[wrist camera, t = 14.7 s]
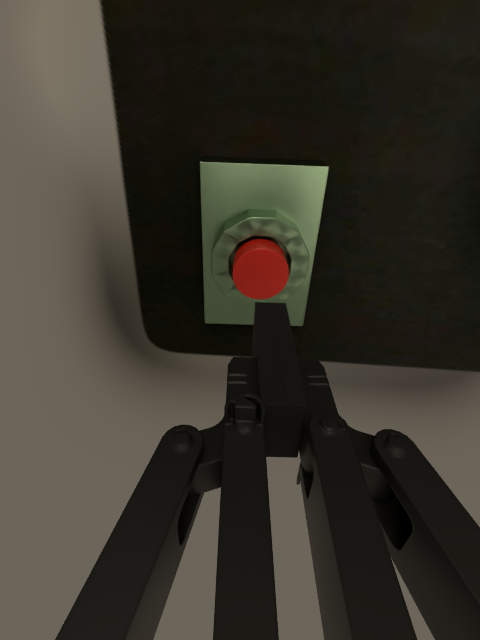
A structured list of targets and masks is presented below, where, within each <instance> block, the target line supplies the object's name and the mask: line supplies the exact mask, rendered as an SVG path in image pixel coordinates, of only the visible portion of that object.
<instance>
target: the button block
mask: <svg viewBox="0 0 480 640" xmlns="http://www.w3.org/2000/svg"><path fill="white" fill-rule="evenodd" d="M328 171H329V166H328V165H326V164H325V163H324V162H323V161H310V160H283V159H255V158H227V157H203V158H202V160H201V161H200V185H201V217H202V249H203V281H204V313H205V323H214V324H250V325H254V312H255V302H269V303H286V306H287V311H288V315H289V320H290V325H291V326H303V322H304V316H305V310H306V304H307V298H308V292H309V286H310V280H311V274H312V268H313V262H314V256H315V250H316V244H317V237H318V231H319V225H320V219H321V213H322V207H323V201H324V195H325V189H326V183H327V177H328ZM254 239H266V240H270V241H272V242H274V243H276V244H277V245H278V246H279V247H280V248H281V249H282V250H283V252H284V254H285V257H286V260H287V264H288V268H289V278H288V281H287V284H286V285H285V287H284V288H283V289H282V291H280V292H279V293H278V294H277V295H275V296H273V297H271V298H267V299H252V298H249V297H247V296H245V295H244V294H242V293H241V292H240V291H239V290H238V289H237V287H236V286H235V284H234V281H233V260H234V256H235V254H236V252H237V251H238V249H239V248H240V247H241V246H242V245H243V244H245V243H246V242H248V241H251V240H254Z"/></svg>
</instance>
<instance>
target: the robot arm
mask: <svg viewBox="0 0 480 640" xmlns="http://www.w3.org/2000/svg"><path fill="white" fill-rule="evenodd" d="M252 354H253V358H245V357H233V359H232V360H231V362H230V363H229V364H228V376H227V394H226V404H225V415H224V417H223V419H222V420H221V421H220V422H219V423H218V424H217V425H215V426H213V427H211V428H208V429H204V430H200V431H199V430H197V428H195V427H193V426H190V425H179V426H175V427H173V428H171V429H170V430H168V431H167V432H166V433H165V435H164V436H163V437H162V439H161V441H160V443H159V445H158V447H157V448H156V450H155V452H154V454H153V456H152V458H151V460H150V462H149V464H148V466H147V467H146V469H145V471H144V473H143V475H142V477H141V479H140V481H139V482H138V484H137V486H136V488H135V490H134V492H133V494H132V496H131V498H130V499H129V501H128V503H127V505H126V507H125V509H124V511H123V513H122V515H121V516H120V519H119V520H118V522H117V524H116V526H115V528H114V530H113V532H112V533H111V536H110V537H109V539H108V541H107V543H106V545H105V547H104V548H103V550H102V552H101V554H100V556H99V558H98V560H97V562H96V564H95V565H94V567H93V569H92V571H91V573H90V575H89V577H88V579H87V581H86V583H85V585H84V586H83V588H82V590H81V592H80V594H79V596H78V598H77V599H76V601H75V603H74V606H73V607H72V609H71V611H70V613H69V615H68V616H67V619H66V620H65V622H64V624H63V626H62V628H61V630H60V632H59V634H58V636H57V637H56V639H55V640H153V639H154V636H155V633H156V630H157V627H158V624H159V621H160V618H161V615H162V613H163V609H164V607H165V604H166V601H167V598H168V595H169V592H170V589H171V587H172V584H173V581H174V578H175V575H176V572H177V569H178V566H179V564H180V561H181V558H182V555H183V551H184V549H185V546H186V543H187V541H188V538H189V535H190V532H191V529H192V526H193V523H194V520H195V517H196V514H197V511H198V509H199V506H200V503H201V500H202V497H203V494H204V492H207V491H210V490H213V489H217V488H220V487H221V499H220V518H219V536H218V556H217V557H218V558H217V575H216V594H215V614H214V632H213V633H214V634H213V640H279V637H278V623H277V610H276V609H277V608H276V595H275V579H274V565H273V551H272V537H271V522H270V508H269V493H268V479H267V464H266V457H297V456H298V452H300V458H301V463H300V467H299V472H298V476H297V484H300V481H301V487H302V493H303V500H304V507H305V513H306V520H307V527H308V533H309V539H310V546H311V553H312V559H313V567H314V573H315V580H316V586H317V593H318V599H319V606H320V613H321V620H322V626H323V633H324V640H417V637H416V634H415V631H414V628H413V626H412V622H411V619H410V616H409V612H408V610H407V606H406V603H405V600H404V597H403V594H402V591H401V588H400V585H399V582H398V578H397V576H396V572H395V569H394V566H393V563H392V560H393V562H394V564H395V565H396V567H397V569H398V571H399V573H400V575H401V577H402V579H403V581H404V582H405V584H406V586H407V588H408V590H409V592H410V594H411V595H412V597H413V599H414V601H415V603H416V605H417V607H418V609H419V611H420V612H421V614H422V616H423V618H424V620H425V622H426V624H427V626H428V627H429V629H430V631H431V633H432V635H433V637H434V639H435V640H480V527H479V526H478V525H477V523H476V522H475V521H474V520H473V518H472V517H471V516H470V515H469V513H468V512H467V511H466V509H465V508H464V507H463V506H462V504H461V503H460V502H459V500H458V499H457V498H456V497H455V495H454V494H453V493H452V491H451V490H450V489H449V487H448V486H447V485H446V484H445V482H444V481H443V480H442V478H441V477H440V476H439V475H438V473H437V472H436V471H435V469H434V468H433V467H432V466H431V464H430V463H429V462H428V461H427V459H426V458H425V457H424V455H423V454H422V453H421V452H420V450H419V449H418V448H417V446H416V445H415V444H414V442H413V441H412V440H411V439H409V438H408V437H407V436H406V435H404V434H402V433H401V432H399V431H395V430H392V429H384V430H381V431H379V432H377V434H376V435H375V436H373V435H369V434H366V433H363V432H360V431H357V430H355V429H353V428H351V427H349V426H348V425H347V423H346V421H345V420H344V419H342V418H341V417H340V416H339V414H338V411H337V408H336V405H335V402H334V398H333V395H332V392H331V389H330V386H329V382H328V379H327V376H326V373H325V369H324V367H323V366H322V365H321V363H320V362H319V361H318V360H317V359H306V358H298V357H297V353H296V348H295V343H294V339H293V334H292V329H291V325H290V320H289V315H288V311H287V306H286V303H269V302H255V312H254V327H253V342H252ZM390 556H391V557H390ZM391 558H392V560H391Z"/></svg>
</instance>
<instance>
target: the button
mask: <svg viewBox="0 0 480 640" xmlns="http://www.w3.org/2000/svg"><path fill="white" fill-rule="evenodd" d="M288 278H289V268H288V264H287V260H286V257H285V254H284V252H283V250H282V249H281V248H280V247H279V246H278V245H277V244H276V243H274V242H272V241H270V240H266V239H254V240H251V241H248V242H246V243H245V244H243V245H242V246H241V247H240V248H239V249H238V251H237V252H236V254H235V256H234V260H233V281H234V284H235V286H236V287H237V289H238V290H239V291H240V292H241V293H242V294H244V295H245V296H247V297H249V298H252V299H267V298H271V297H273V296H275V295H277V294H278V293H279V292H280V291H282V289H283V288H284V287H285V285H286V284H287V281H288Z"/></svg>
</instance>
